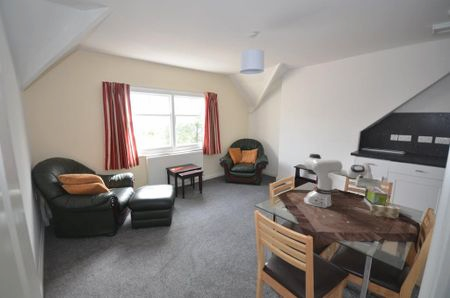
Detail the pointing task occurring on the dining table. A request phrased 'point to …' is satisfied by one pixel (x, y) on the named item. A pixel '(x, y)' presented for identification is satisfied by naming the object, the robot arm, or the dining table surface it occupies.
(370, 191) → the tea box
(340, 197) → the dining table surface
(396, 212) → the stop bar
